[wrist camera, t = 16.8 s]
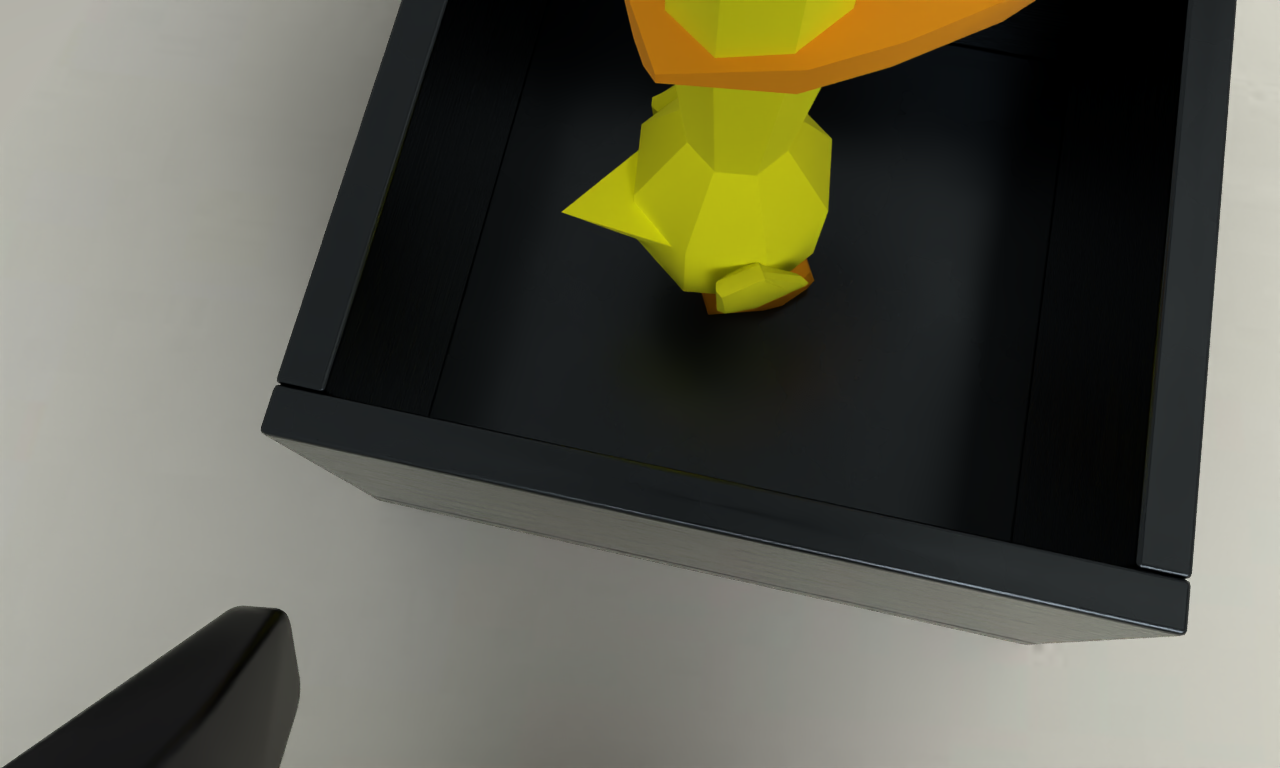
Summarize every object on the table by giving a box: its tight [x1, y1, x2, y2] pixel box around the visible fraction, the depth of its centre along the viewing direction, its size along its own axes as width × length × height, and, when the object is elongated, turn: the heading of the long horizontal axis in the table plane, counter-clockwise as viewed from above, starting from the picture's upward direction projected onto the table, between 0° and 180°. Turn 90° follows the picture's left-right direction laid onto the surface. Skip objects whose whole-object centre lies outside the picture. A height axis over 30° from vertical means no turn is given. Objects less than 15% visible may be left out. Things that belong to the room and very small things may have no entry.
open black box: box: [261, 0, 1237, 645], centre depth 17 cm, size 12×12×6 cm
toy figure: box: [562, 0, 1035, 315], centre depth 13 cm, size 7×4×12 cm, turn 107°
